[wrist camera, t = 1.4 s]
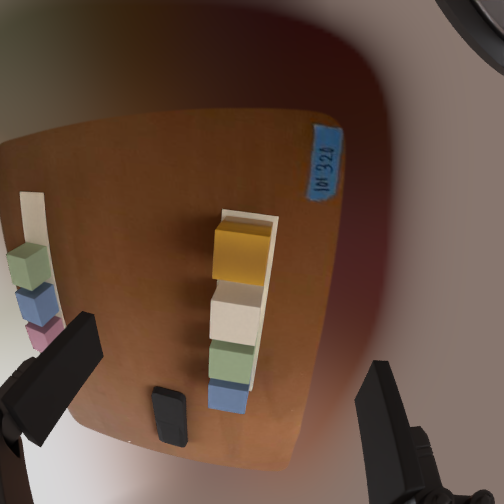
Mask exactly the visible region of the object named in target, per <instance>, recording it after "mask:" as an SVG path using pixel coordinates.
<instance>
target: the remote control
mask: <svg viewBox="0 0 504 504" xmlns="http://www.w3.org/2000/svg"><path fill="white" fill-rule="evenodd" d="M151 396H152V402H153V408H154V414H155V420H156V425H157V430H158V435H159V439H160V440H161V441H162V442H165V443H168V444H171V445H175V446H179V447H185V446H186V444H187V442H188V438H187V418H186V397H185V396H184V395H183V394H182V393H179V392H176V391H172V390H168V389H165V388H161V387H154V390H153V392H152V395H151Z"/></svg>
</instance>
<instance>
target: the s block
mask: <svg viewBox="0 0 504 504" xmlns="http://www.w3.org/2000/svg"><path fill="white" fill-rule="evenodd" d="M272 229H273V222H271V221H264V220H257V219H249V218H242V217H234V216H225V218H224V219H223V220H222V222H221V223H220V224H219V225H218V227H217V228H216V229H215V237H214V253H213V271H212V278H213V279H218V280H224V281H231V282H237V283H244V284H250V285H257V286H264V282H265V276H266V271H267V265H268V258H269V251H270V243H271V236H272Z"/></svg>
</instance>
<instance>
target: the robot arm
mask: <svg viewBox="0 0 504 504" xmlns="http://www.w3.org/2000/svg"><path fill="white" fill-rule="evenodd" d="M469 1H470V2H471V4H472V5H473V7H474V8H475V9H476V11H477V12H478V13H479V15H480V16H481V17H482V19H483V20H484V21H485V22H486V23H487V24H488V26H489V27H490V28H491V29H492V30H493V31H494V32H495V33H496V34H497V35H498V36H499V37H500V38H501V39H502V40H504V0H469ZM103 357H104V356H103V352H102V348H101V344H100V340H99V335H98V331H97V326H96V321H95V316H94V314H91V313H87V312H84V311H82V312H81V313H80V314H79V315H78V316H77V317H76V318H75V319H74V320H73V321H72V322H71V323H70V324H69V325H68V326H67V327H66V328H65V329H64V330H63V331H62V332H61V333H60V334H59V335H58V336H57V337H56V338H55V339H54V340H53V341H52V342H51V343H50V344H49V345H48V346H47V347H46V348H45V350H44V351H43V352H42V353H41V354H40V355H39V356H38V357H37V358H35V357H31V358H29V359H27V360H26V361H24V362H23V363H22V364H21V365H20V366H19V367H18V368H17V370H15V371H14V372H13V374H12V376H10V377H9V378H8V379H7V380H6V382H5V383H4V384H3V385H2V386H1V387H0V504H34V502H33V499H32V494H31V490H30V485H29V480H28V475H27V470H26V464H25V458H24V452H23V444H22V439H21V437H20V435H21V434H22V432H23V433H24V435H25V436H26V437H27V439H28V440H30V441H31V442H33V443H34V444H36V445H38V446H39V447H41V446H42V445H43V443H44V441H45V440H46V438H47V437H48V435H49V434H50V432H51V431H52V429H53V428H54V426H55V425H56V423H57V422H58V420H59V419H60V417H61V416H62V414H63V413H64V411H65V410H66V408H67V407H68V406H69V404H70V403H71V401H72V400H73V398H74V397H75V395H76V394H77V393H78V391H79V390H80V388H81V387H82V386H83V384H84V383H85V381H86V380H87V379H88V377H89V376H90V374H91V373H92V372H93V370H94V369H95V367H96V366H97V365H98V363H99V362H100V361H101V359H102V358H103ZM355 405H356V411H357V417H358V423H359V429H360V434H361V441H362V448H363V454H364V462H365V470H366V477H367V486H368V494H369V504H495V501H494V497H493V494H492V493H490V492H489V491H487V490H479V491H478V492H476V493H474V494H473V495H472V496H463V495H453V494H452V492H451V491H450V490H448V489H446V488H444V487H443V486H442V483H441V480H440V476H439V473H438V469H437V465H436V462H435V458H434V456H433V452H432V448H431V447H430V446H431V445H430V442H429V439H428V436H427V434H426V433H425V432H424V430H423V429H422V428H421V426H417V427H410V426H409V422H408V419H407V416H406V413H405V409H404V406H403V403H402V400H401V397H400V394H399V391H398V388H397V385H396V382H395V379H394V376H393V373H392V371H391V368H390V365H389V362H388V361H377V360H373V362H372V364H371V366H370V369H369V371H368V373H367V375H366V377H365V379H364V382H363V384H362V386H361V388H360V390H359V392H358V394H357V396H356V398H355Z"/></svg>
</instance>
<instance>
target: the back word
mask: <svg viewBox="0 0 504 504" xmlns="http://www.w3.org/2000/svg"><path fill="white" fill-rule="evenodd" d="M20 202H21V212H22V221H23V229H24V236H25V242H26V243H24V244H23V245H21V246H19V247H17V248H15V249H14V250H12V251H10V252H9V253H7V254H6V256H7V260H8V266H9V270H10V274H11V278H12V283H13V284H14V285H17V286H20V287H21V288H20V289H19V290H17V291H16V292H15V294H16V298H17V301H18V305H19V308H20V311H21V314H22V317H23V319H25V320H27V321H29V323H28V324H27V325H25V327H26V329H27V332H28V335H29V338H30V341H31V343H32V345H33V348H34V349H36V350H37V351H39V352H43V351H44V350H45V348H46V347H47V346H48V345H49V344H50V343H51V342H52V341H53V340H54V339H55V338H56V337H57V336H58V335H59V334H60V333H61V332H62V331H63V330H64V329H65V328H66V324H65V321H64V317H63V313H62V309H61V305H60V301H59V296H58V292H57V287H56V282H55V277H54V272H53V266H52V260H51V254H50V248H49V241H48V233H47V224H46V214H45V203H44V193H39V192H20Z"/></svg>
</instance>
